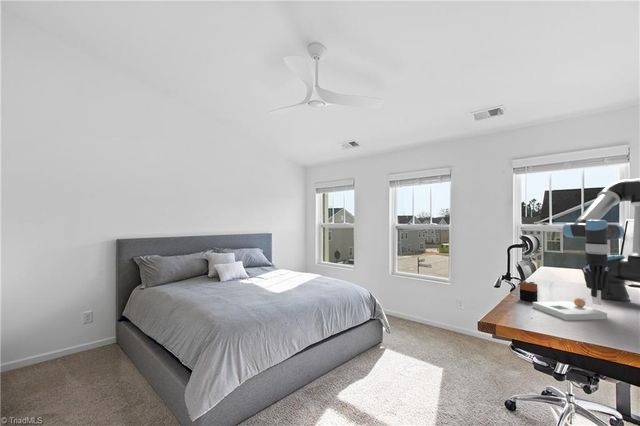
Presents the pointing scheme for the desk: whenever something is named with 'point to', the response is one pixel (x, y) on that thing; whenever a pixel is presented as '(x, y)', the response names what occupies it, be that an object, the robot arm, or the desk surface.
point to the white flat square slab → (569, 310)
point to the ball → (579, 302)
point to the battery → (528, 291)
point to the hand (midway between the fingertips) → (596, 303)
